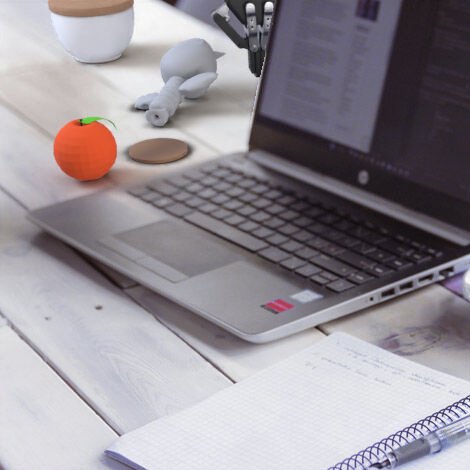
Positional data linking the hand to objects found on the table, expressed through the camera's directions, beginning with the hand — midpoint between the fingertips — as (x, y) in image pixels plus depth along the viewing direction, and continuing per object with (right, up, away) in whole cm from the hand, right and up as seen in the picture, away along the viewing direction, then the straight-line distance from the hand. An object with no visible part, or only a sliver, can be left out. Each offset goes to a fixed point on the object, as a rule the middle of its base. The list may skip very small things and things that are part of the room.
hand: (259, 75), depth 133 cm
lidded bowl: (-27, +5, +16) cm, 32 cm away
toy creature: (-10, -4, -2) cm, 11 cm away
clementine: (-17, -16, -24) cm, 33 cm away
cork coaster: (-10, -12, -18) cm, 24 cm away
